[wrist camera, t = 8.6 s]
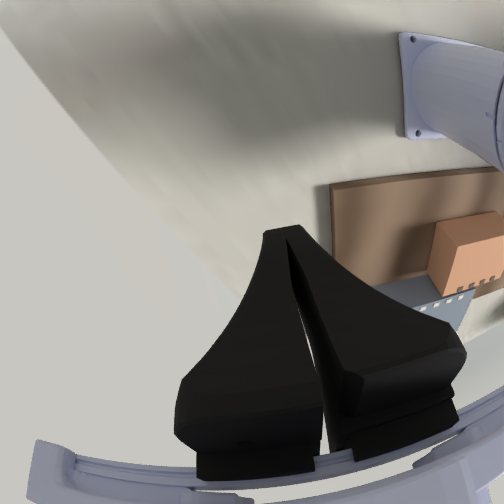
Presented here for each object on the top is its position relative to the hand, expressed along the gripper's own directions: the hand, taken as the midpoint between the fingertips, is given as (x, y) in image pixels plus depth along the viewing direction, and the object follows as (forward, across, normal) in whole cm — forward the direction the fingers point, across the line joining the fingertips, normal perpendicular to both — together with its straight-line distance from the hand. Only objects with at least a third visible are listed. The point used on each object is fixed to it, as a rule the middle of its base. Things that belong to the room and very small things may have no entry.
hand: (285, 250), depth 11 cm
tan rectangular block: (+9, -18, +10) cm, 22 cm away
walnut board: (+10, -18, +11) cm, 24 cm away
